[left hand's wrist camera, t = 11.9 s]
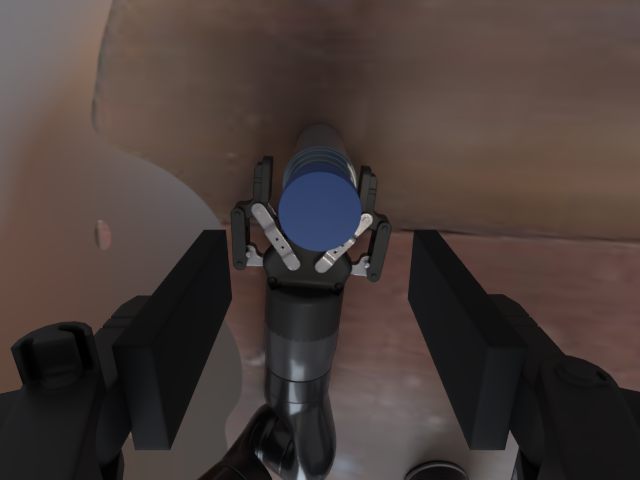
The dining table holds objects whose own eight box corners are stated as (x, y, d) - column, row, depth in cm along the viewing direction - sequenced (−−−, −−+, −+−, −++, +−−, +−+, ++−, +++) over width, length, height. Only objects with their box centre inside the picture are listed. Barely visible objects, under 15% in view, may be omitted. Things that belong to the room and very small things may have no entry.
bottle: (285, 148, 40) (252, 211, 20) (319, 113, 39) (319, 142, 19) (320, 182, 41) (320, 271, 21) (354, 148, 40) (387, 210, 20)
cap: (266, 201, 22) (260, 213, 20) (319, 146, 21) (319, 153, 19) (320, 251, 23) (320, 266, 21) (373, 201, 22) (379, 212, 20)
